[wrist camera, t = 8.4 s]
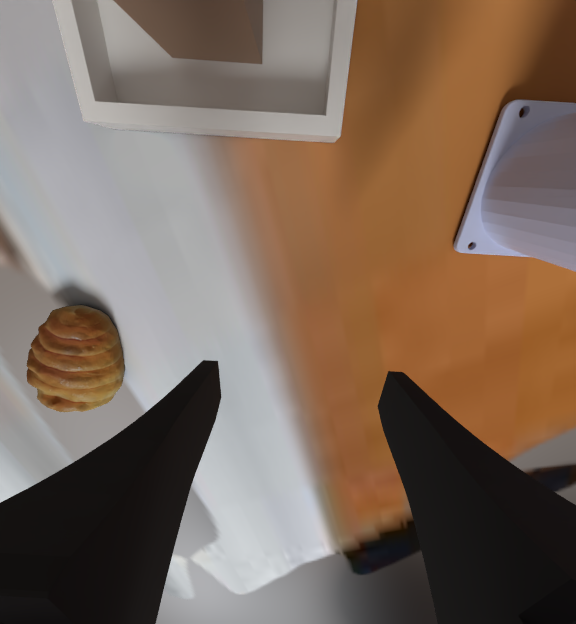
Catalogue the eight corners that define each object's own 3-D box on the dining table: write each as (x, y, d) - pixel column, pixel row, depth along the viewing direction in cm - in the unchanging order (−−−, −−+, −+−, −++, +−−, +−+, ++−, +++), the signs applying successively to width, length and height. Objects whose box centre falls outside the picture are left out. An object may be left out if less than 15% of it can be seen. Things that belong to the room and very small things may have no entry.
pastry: (46, 286, 20) (-4, 309, 16) (136, 315, 21) (106, 341, 17) (52, 373, 24) (13, 405, 21) (126, 393, 25) (101, 427, 22)
